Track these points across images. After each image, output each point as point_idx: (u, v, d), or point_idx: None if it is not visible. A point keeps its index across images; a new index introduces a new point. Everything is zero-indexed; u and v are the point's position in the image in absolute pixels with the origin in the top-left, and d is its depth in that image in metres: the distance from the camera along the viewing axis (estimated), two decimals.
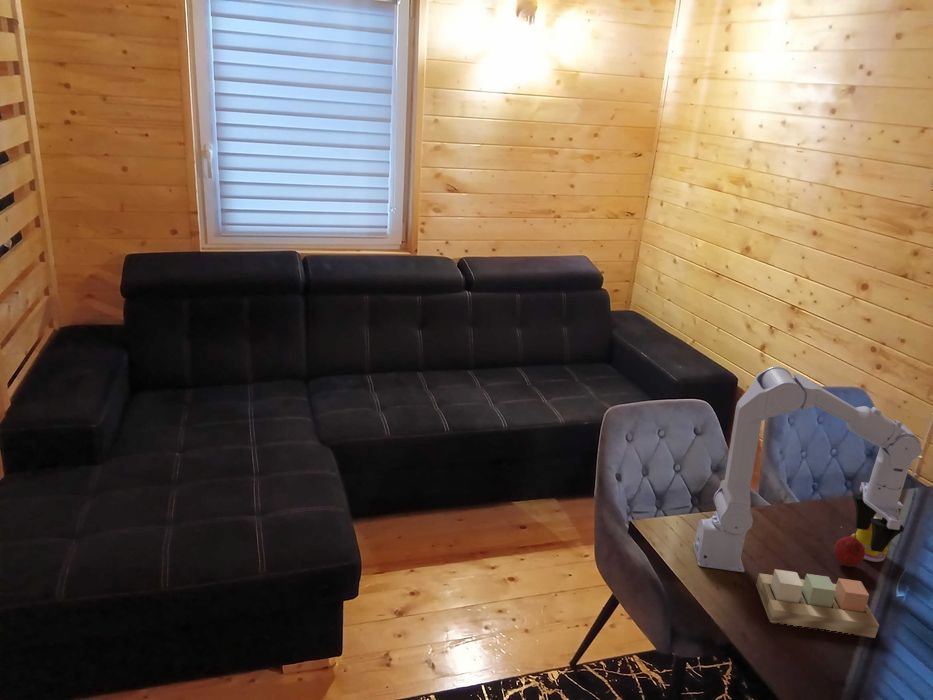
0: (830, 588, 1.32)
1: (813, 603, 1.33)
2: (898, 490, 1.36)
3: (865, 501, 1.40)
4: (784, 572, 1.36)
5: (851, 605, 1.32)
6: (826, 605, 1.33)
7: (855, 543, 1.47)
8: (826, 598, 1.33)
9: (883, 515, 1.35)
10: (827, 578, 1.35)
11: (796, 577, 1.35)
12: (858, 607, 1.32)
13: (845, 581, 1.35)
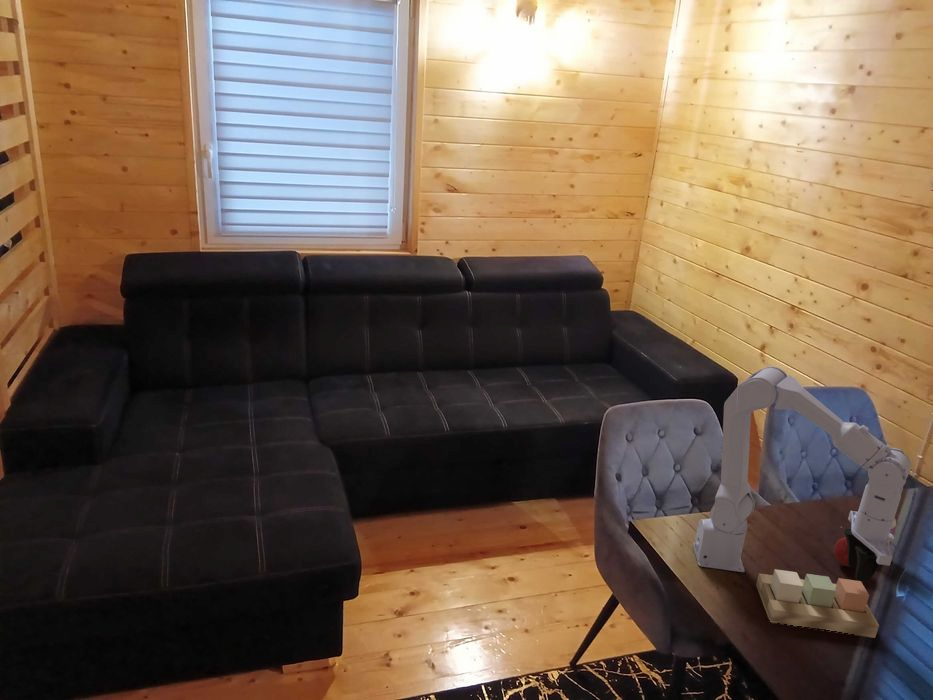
0: (830, 588, 1.32)
1: (813, 603, 1.33)
2: (889, 522, 1.25)
3: (853, 533, 1.29)
4: (784, 572, 1.36)
5: (851, 605, 1.32)
6: (826, 605, 1.33)
7: None
8: (826, 598, 1.33)
9: (873, 549, 1.25)
10: (827, 578, 1.35)
11: (796, 577, 1.35)
12: (858, 607, 1.32)
13: (845, 581, 1.35)
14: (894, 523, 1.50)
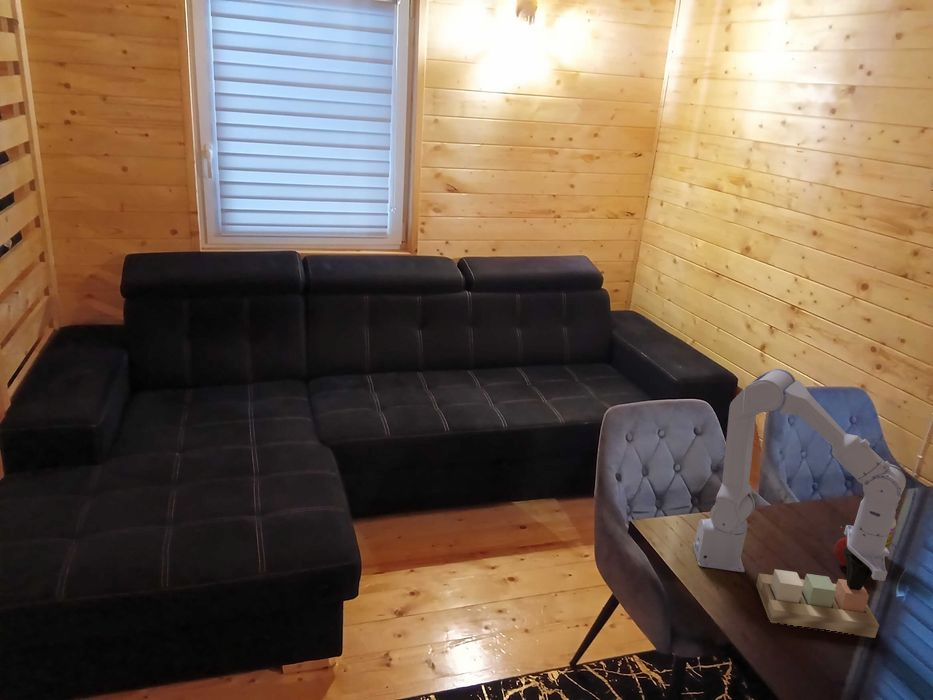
0: (830, 588, 1.32)
1: (813, 603, 1.33)
2: (884, 537, 1.26)
3: (849, 547, 1.30)
4: (784, 572, 1.36)
5: (850, 606, 1.32)
6: (826, 605, 1.33)
7: None
8: (826, 598, 1.33)
9: (868, 564, 1.26)
10: (827, 578, 1.35)
11: (796, 577, 1.35)
12: (858, 608, 1.32)
13: (845, 581, 1.35)
14: (894, 523, 1.50)
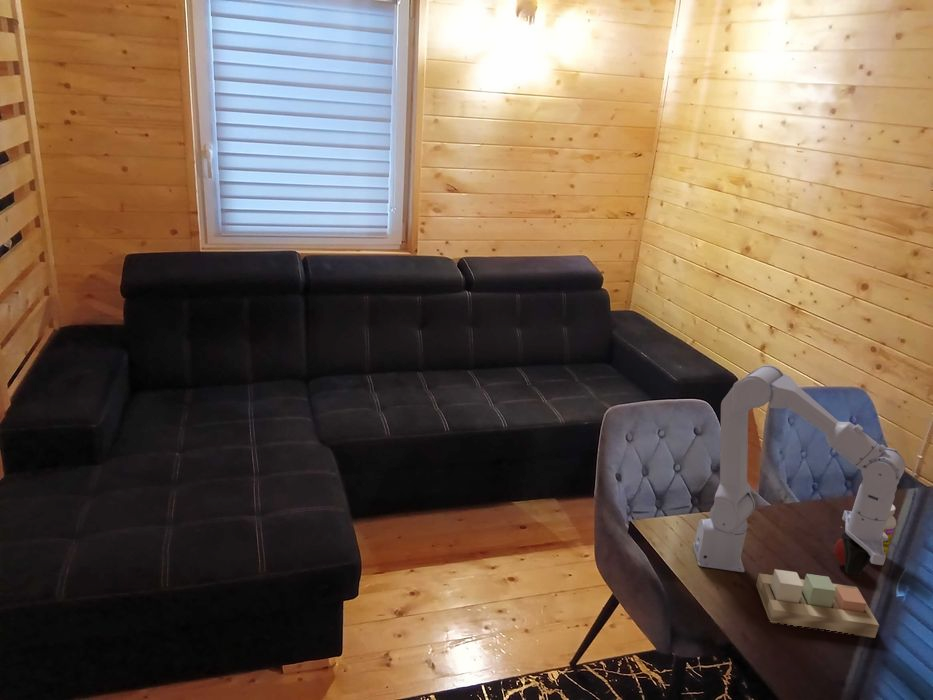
0: (830, 588, 1.32)
1: (813, 603, 1.33)
2: (883, 521, 1.25)
3: (847, 532, 1.29)
4: (784, 572, 1.36)
5: None
6: (826, 605, 1.33)
7: None
8: (826, 598, 1.33)
9: (866, 548, 1.25)
10: (827, 578, 1.35)
11: (796, 577, 1.35)
12: None
13: (843, 589, 1.35)
14: (894, 523, 1.50)
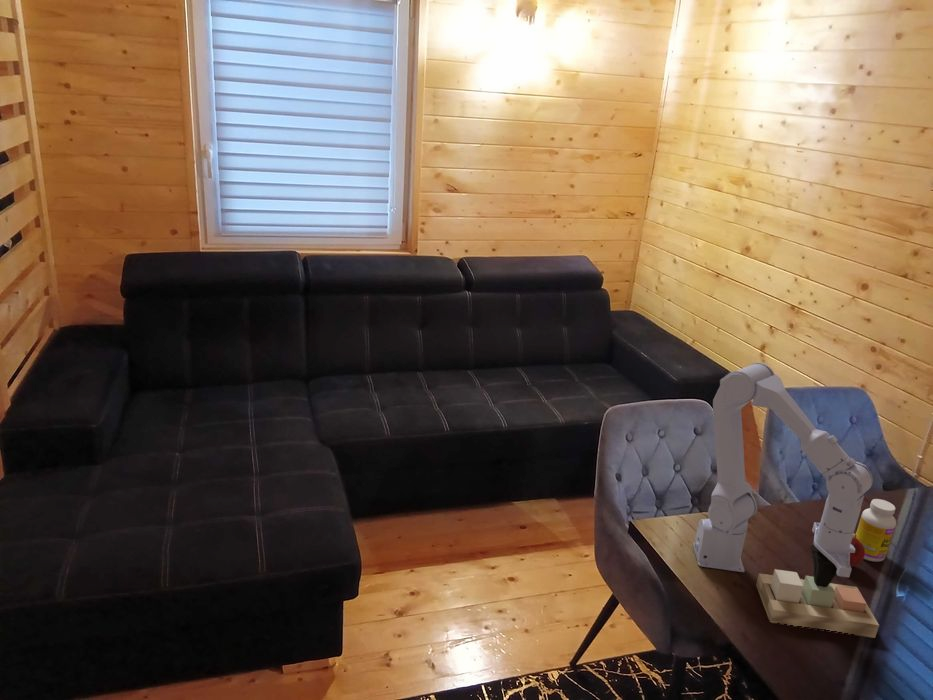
0: (829, 590, 1.32)
1: (812, 605, 1.33)
2: (849, 534, 1.27)
3: (815, 544, 1.31)
4: (784, 572, 1.36)
5: None
6: (826, 607, 1.33)
7: (855, 543, 1.47)
8: (826, 600, 1.33)
9: (833, 560, 1.26)
10: None
11: (796, 577, 1.35)
12: None
13: (843, 589, 1.35)
14: (894, 523, 1.50)
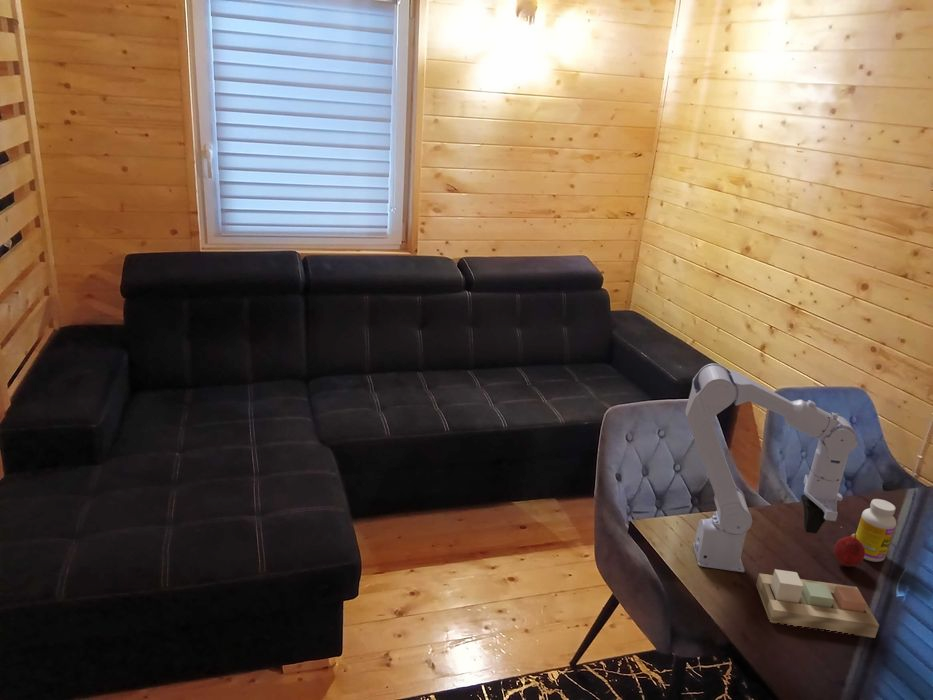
0: (827, 596, 1.33)
1: None
2: (836, 482, 1.37)
3: (805, 493, 1.41)
4: (784, 572, 1.36)
5: None
6: None
7: (855, 543, 1.47)
8: (824, 606, 1.33)
9: (821, 506, 1.36)
10: (825, 586, 1.36)
11: (796, 577, 1.35)
12: None
13: (843, 589, 1.35)
14: (894, 523, 1.50)
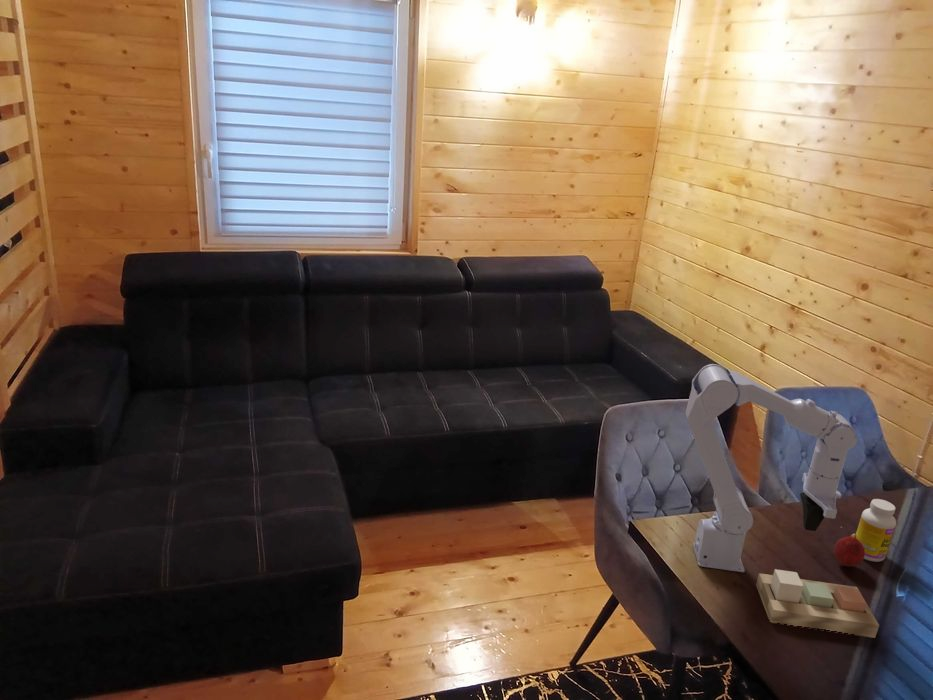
0: (827, 596, 1.33)
1: None
2: (835, 480, 1.38)
3: (804, 491, 1.42)
4: (784, 572, 1.36)
5: None
6: None
7: (855, 543, 1.47)
8: (824, 606, 1.33)
9: (820, 504, 1.37)
10: (825, 586, 1.36)
11: (796, 577, 1.35)
12: None
13: (843, 589, 1.35)
14: (894, 523, 1.50)
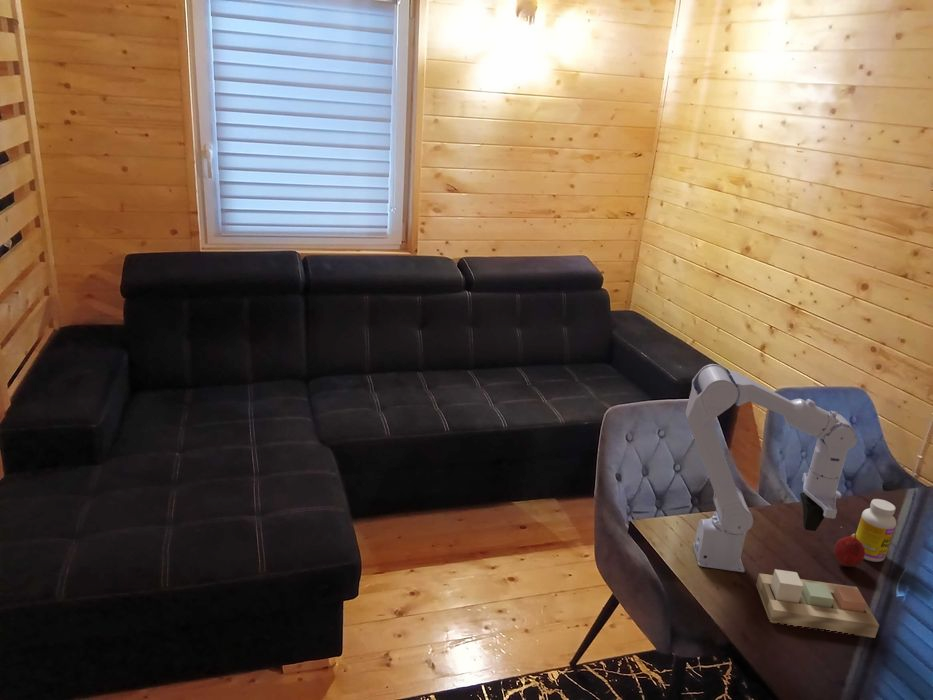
0: (827, 596, 1.33)
1: None
2: (835, 480, 1.38)
3: (804, 491, 1.42)
4: (784, 572, 1.36)
5: None
6: None
7: (855, 543, 1.47)
8: (824, 606, 1.33)
9: (820, 504, 1.37)
10: (825, 586, 1.36)
11: (796, 577, 1.35)
12: None
13: (843, 589, 1.35)
14: (894, 523, 1.50)
